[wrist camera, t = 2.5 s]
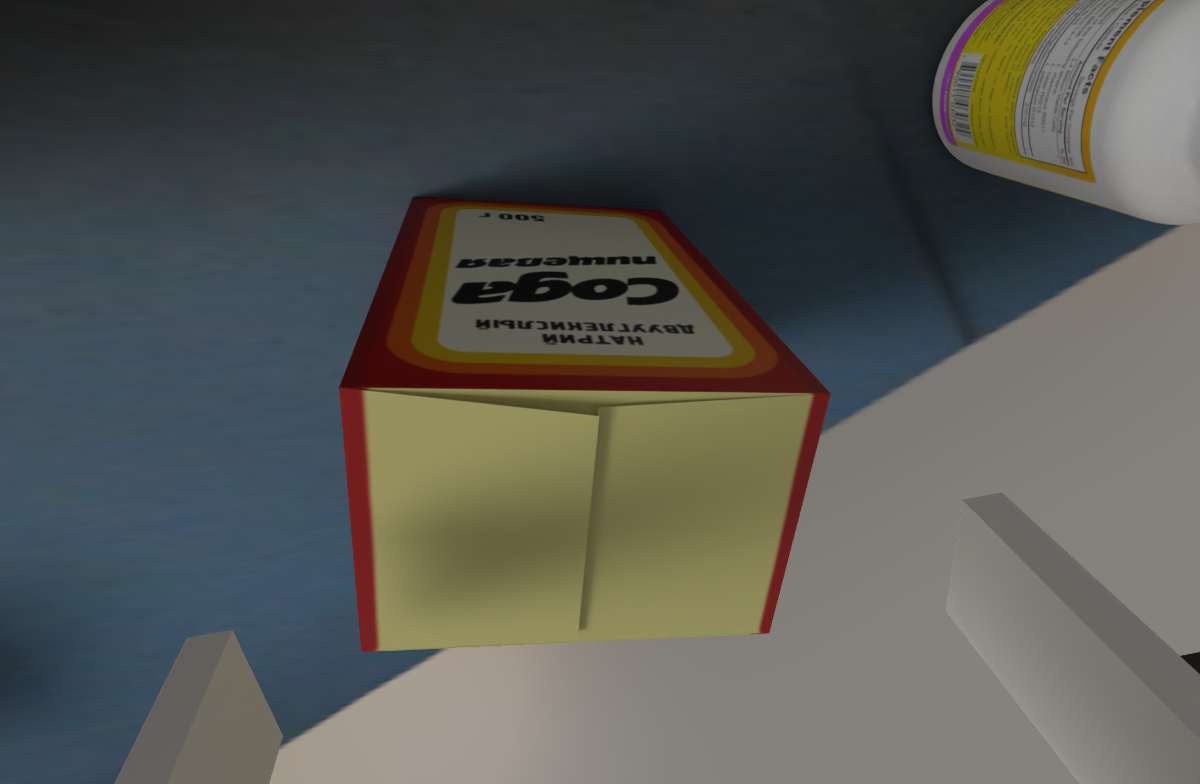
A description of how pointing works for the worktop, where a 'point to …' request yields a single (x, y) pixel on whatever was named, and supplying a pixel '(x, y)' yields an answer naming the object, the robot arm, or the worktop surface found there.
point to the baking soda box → (567, 435)
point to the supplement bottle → (1080, 101)
